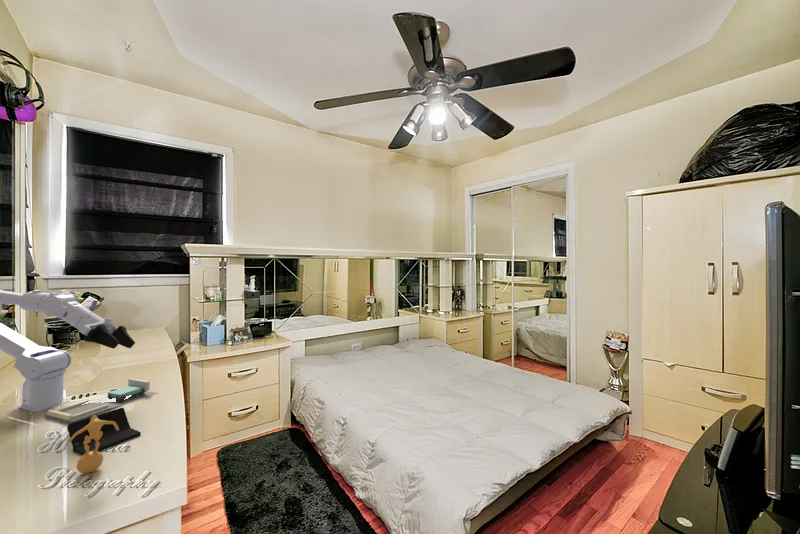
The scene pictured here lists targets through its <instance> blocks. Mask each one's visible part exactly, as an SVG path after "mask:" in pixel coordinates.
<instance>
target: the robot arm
mask: <svg viewBox="0 0 800 534" xmlns="http://www.w3.org/2000/svg"><path fill="white" fill-rule="evenodd" d="M80 302H81V301H80V300H79V297H77V296H76V295H74V294H71V293H68V294H64V295H59V294H58V293H57V292H50V293H47V292H43V291H42V290H41V289H33V290H32V291H28V292H25V293H21V292H14V291H7V290H3V289H0V313H1V312H2V307H3V305H4V304H5V305H16V306H19V307H20V309H22V310H24V311H29V312H30V311H31V312H39V313H44V315H45V316H47V317H56V318H58V319H61V320H63V321H64V322H66V323H68V324H69V325H70V326H73V328H75V329H77V330H78V332H79V333H81V334H82V335H84V336H85V337H84V339H83V341H84V342H89V343H95V344H97V345H101V346H104V347H107V348H111V349H113V350H114V349H116V348H117V347H118V346H119V345H120V346H122V347H124V348H126V349H132V347H134V345H135V344H136V342H135V340H134V339H133V338H132V337H131V336H130V334H129V333H128V332H127V329H126V327H125V326H124V325H119V326H118V327H116V326H115V325H114V324H112V321H113V318H110V317H107V318H103V317H101V316H100V315H99V314H97V313H95V312H93V311H92V310H91V309H89V308H87V307H86V306H84V305H82V304H81V303H80ZM0 350H1V351H2V352H3V353H5V354H7V355H8V356H11V357H12V358H14V359H15V362H14V367H13V368H14V369H16V370H17V371H18V372H19V373H20V375H21V376H22V377H23V378H25V380H24V382H23V384H22V386H21V388H22V390H21V391H22V392H21V404H20V405H17V408H18V409H24V410H28V411H30V412H35V413H36V412H39V411H43V410H47V409H49V408H53V407H56V406H59V405H62V404H61V403H62V401H63V400H64V399H65V398H64V379H65V378H64V375H65V374H64V373H66V372H67V369H68V368H69V367H70V366H71V364H72V356H71V354H70V353H69V352H68V351H67V350H63V349H57V348H56V347H53V346H52V347H51V346H42V345H38V343H35V342H34V341H32V340H30V339H29V338H27V337H25V336H24V335H22V334H21V333H19V332H17V331H15V330H14V329H11V328H10V327H8V326H7V325H5V324H3V323H2V322H0Z"/></svg>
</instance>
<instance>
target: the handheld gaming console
mask: <svg viewBox="0 0 800 534" xmlns="http://www.w3.org/2000/svg"><path fill="white" fill-rule="evenodd" d="M95 416H97V417H98V419H100V420H106V421H114V422H116V424H117V425H118V427H119V431H117V430H116V429H115V428H116V427H114V425H113V424H104V425H103V426H102V427H101V429H100V431H102V432H103V434H102V436H101V438H100V439H99V440H98V442H99V443H100V445H99V447H98V452H100V453H101V452H102V451H104V449H105V450H107V449H110V448H113V447H115V446H117V445H120V444H123V443H125V442H127V441H128V442H129V441H130V440H133V439H134V438H138V437H141V431H139V430H136V429H134V428H132V427H131V426H130V423H129V419H128V417H127V413H126V410H125V408H124V407H118V408H115V409H112V410H109V411H106V412H103V413H100V414H98V415H95ZM90 420H91V417H89V418H86V419H83V420H80V421H77V422H74V423H68V425H67V431H68V432H67V433H68V436H69V439H70V438H71V437H72V436H73V435H74V434H75V433H76V432H78V431H79V430H81V429H82V428H84V427H85V426H86V425H88V424H89V423H90ZM100 431H99V432H100ZM86 436H90V434H89V432H88V430H85V431H83V432H82V433H80V434H78V435H76V436H75V437H74V438H73V440H72V441H71V442H70V443H71V446H72V452H74V453H76V454H78V455H79V456H81V457H82V456H83V455H84V454H85V453H86V450H85V446H84V444H83V442H84V441H85V437H86ZM95 443H96V440H94V439H91V442H89V443H88V444H87V445H88V446H89V452H91V451H94V450H95V448H96V446H95Z"/></svg>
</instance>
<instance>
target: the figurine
mask: <svg viewBox="0 0 800 534" xmlns="http://www.w3.org/2000/svg"><path fill="white" fill-rule="evenodd" d="M104 424H113V425H114V427H116V428H115V429H116V430H117V431H119V427H118V425H117V424H116V422H114V421H106V420H100V419H98V417H97V416H96V415H94V416H92V417H91V420H90V423H89V424H88V425H86V426H85V427H84V428H82V429H81V430H79V431H78V432H76V433H75V434H74V435H73V436H72V437H71V438H70V437H69V439H68V440H67V441H66V442H65V444H64V449H66V448H67V446H68V444H70V443H71V441H72V440H73V438H74V437H75V436H76V435H78V434H80V433H82V432H83V431H85V430H88V432H89V434H90V436H86V437H85V441H84V442H83V444H84V446H85V450H86V453H85V454H84V455H83V456H81V457H80V458H79V459H78V460H77V463H76V470H77V472H79V473H81V474H91V473H92V472H95V471H96V470H98V469H99V468H100V467H101V465H103V464H102V463H103V462H104V455H103V453H102V452H101V451H100V452H98V447H99V445H100V443H99V442H98V440H99V439H100V438H101V436H102V434H103V432H102V431H100V429H101V427H102V426H103V425H104ZM99 431H100V432H99ZM91 439H94V440H96V443H95V446H96V448H95V450H94V451H91V452H89V446H88V445H87V444H88V443H89V442H91Z"/></svg>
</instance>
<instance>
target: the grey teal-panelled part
mask: <svg viewBox="0 0 800 534" xmlns="http://www.w3.org/2000/svg"><path fill="white" fill-rule="evenodd" d="M127 383H128V384H127V386H123V387H121V388H118V389H115V390H112V391H107V396H106V397H108V398H109V399H112V398H116V401H119V402H120V401H123V400H124V399H125V398H126V396H129V395H133V394H136V393H138V394H144V393H145V392H146V391H150V389H151V388H150V381H148V380H143V379H139V378H138V379H136V378H128V380H127Z"/></svg>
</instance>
